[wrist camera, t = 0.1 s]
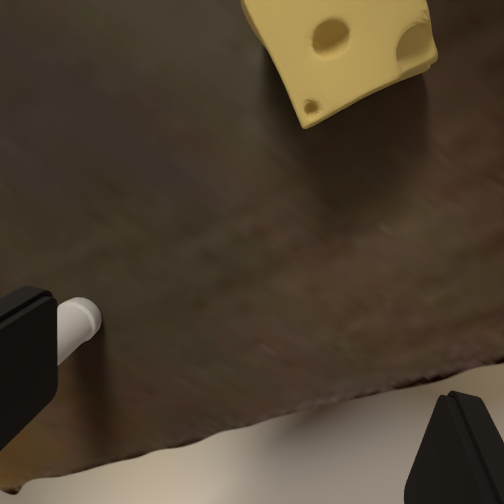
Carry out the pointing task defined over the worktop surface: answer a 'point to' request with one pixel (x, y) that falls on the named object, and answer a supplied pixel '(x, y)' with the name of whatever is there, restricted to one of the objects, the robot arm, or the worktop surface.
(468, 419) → the robot arm
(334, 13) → the cheese
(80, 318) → the bottle
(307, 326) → the worktop surface
